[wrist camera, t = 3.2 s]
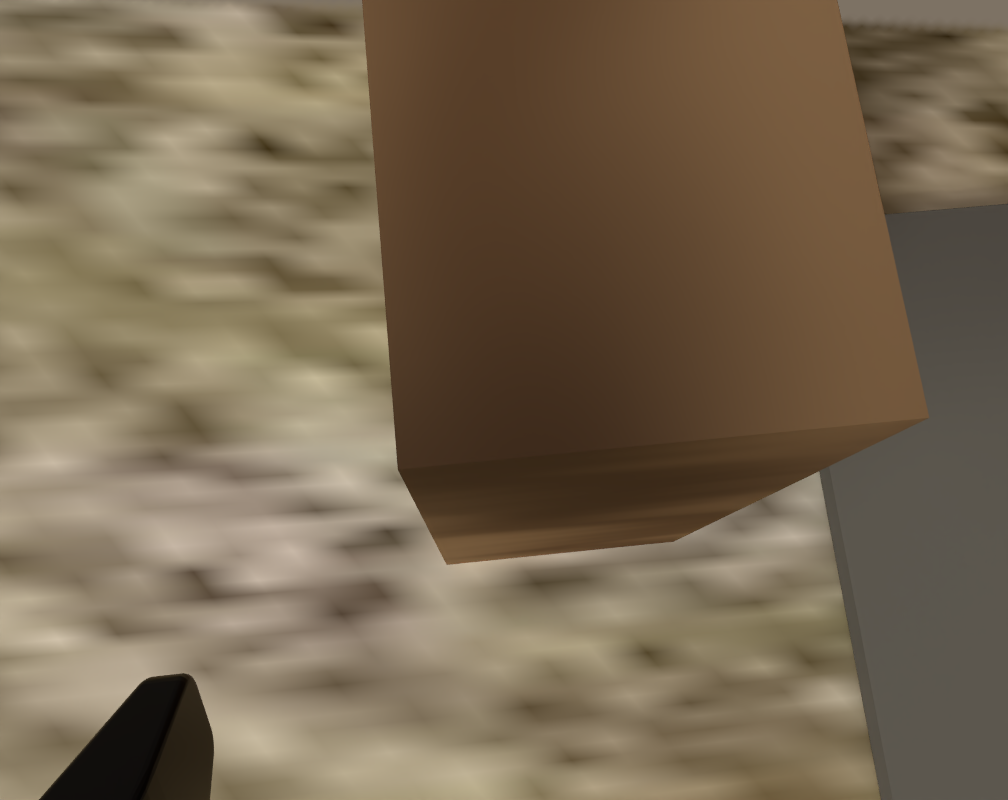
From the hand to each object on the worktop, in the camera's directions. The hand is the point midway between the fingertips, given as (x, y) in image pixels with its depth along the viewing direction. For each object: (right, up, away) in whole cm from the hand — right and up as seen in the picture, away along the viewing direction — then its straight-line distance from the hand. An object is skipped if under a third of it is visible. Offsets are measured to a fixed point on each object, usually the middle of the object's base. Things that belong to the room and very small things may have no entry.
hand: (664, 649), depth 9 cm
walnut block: (-1, +1, +12) cm, 12 cm away
